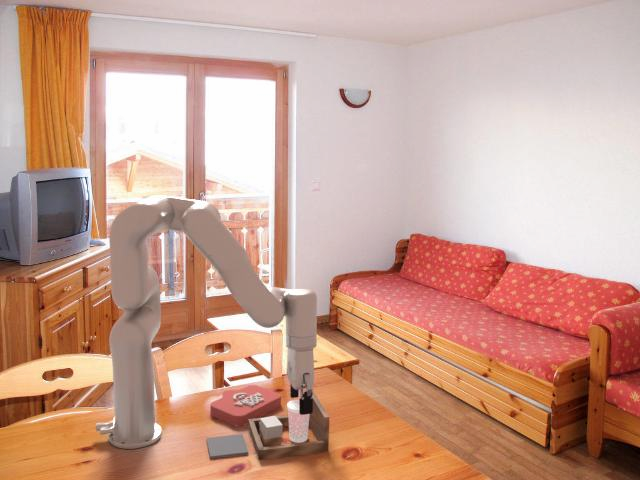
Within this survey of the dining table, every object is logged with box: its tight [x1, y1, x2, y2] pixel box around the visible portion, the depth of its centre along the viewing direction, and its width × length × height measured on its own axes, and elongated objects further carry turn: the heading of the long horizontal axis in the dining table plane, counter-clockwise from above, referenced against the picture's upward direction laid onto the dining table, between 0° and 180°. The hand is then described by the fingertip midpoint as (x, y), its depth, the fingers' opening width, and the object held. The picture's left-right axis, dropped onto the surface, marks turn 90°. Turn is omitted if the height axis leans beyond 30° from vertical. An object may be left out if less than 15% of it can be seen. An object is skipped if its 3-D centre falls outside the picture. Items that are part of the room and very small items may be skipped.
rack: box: [247, 390, 330, 461], centre depth 151 cm, size 17×16×9 cm
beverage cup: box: [286, 390, 310, 444], centre depth 152 cm, size 6×6×14 cm
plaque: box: [210, 384, 282, 427], centre depth 169 cm, size 18×4×15 cm
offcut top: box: [259, 415, 284, 439], centre depth 149 cm, size 4×5×3 cm
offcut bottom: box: [259, 430, 282, 447], centre depth 150 cm, size 4×6×3 cm, turn 16°
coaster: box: [206, 433, 249, 460], centre depth 148 cm, size 9×9×1 cm
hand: (301, 405), depth 152 cm, fingers open, 9 cm apart
